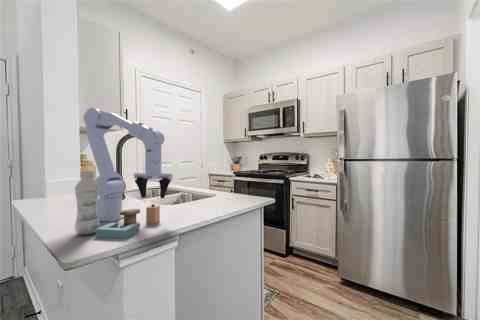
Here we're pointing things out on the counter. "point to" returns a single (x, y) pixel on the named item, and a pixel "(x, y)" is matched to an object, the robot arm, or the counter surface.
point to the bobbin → (129, 217)
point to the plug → (152, 214)
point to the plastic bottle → (87, 204)
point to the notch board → (116, 231)
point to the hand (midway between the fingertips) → (153, 197)
